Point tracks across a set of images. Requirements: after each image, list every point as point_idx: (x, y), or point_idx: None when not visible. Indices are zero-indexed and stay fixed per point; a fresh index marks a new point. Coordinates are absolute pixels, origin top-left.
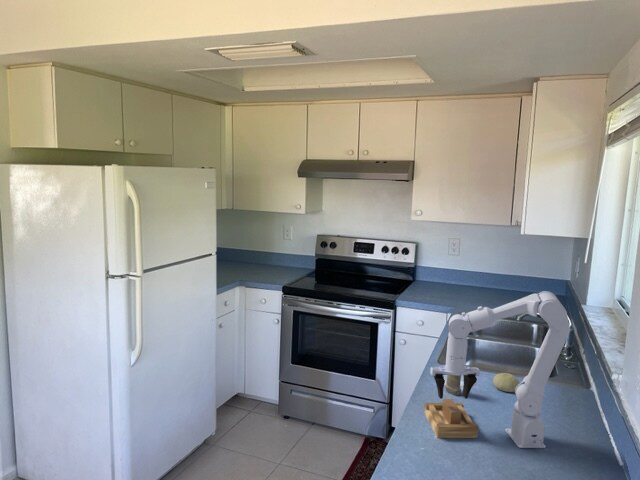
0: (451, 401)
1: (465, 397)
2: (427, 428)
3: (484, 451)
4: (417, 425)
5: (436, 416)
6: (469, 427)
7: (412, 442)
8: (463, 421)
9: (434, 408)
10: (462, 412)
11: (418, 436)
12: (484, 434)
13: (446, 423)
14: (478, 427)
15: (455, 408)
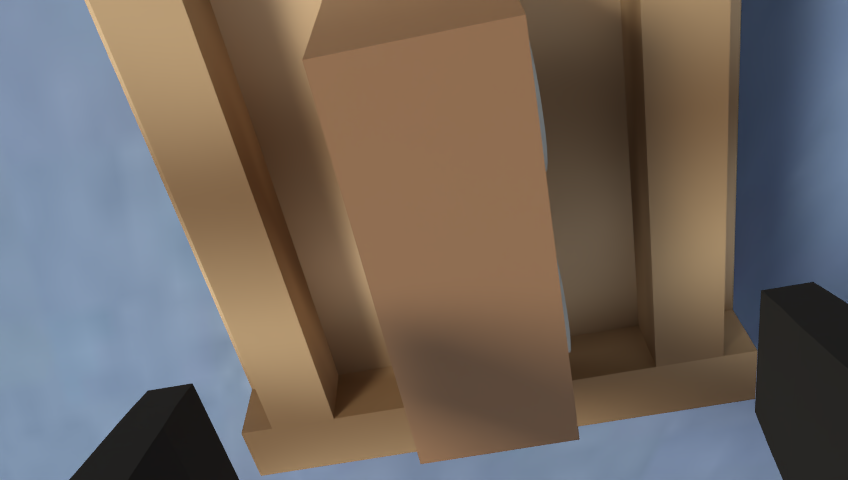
0: (483, 135)
1: (770, 447)
2: (163, 239)
3: (685, 472)
4: (35, 202)
5: (229, 282)
6: (636, 410)
7: (53, 471)
8: (623, 180)
9: (183, 48)
10: (662, 90)
11: (89, 387)
12: (816, 231)
13: None
14: (751, 392)
15: (509, 362)
